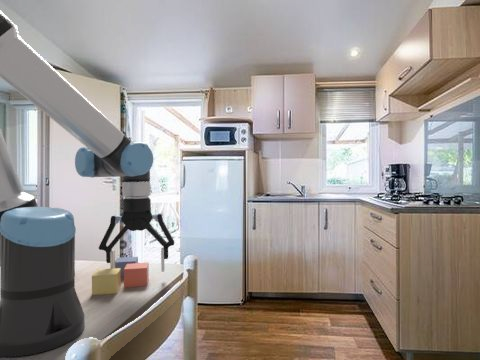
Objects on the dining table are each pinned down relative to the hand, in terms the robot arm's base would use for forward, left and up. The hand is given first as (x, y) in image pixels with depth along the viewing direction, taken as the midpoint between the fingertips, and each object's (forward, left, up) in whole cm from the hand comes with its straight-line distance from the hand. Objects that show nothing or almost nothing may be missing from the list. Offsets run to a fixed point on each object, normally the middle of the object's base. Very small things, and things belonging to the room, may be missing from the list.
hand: (138, 272), depth 90 cm
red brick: (0, 0, -3) cm, 3 cm away
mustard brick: (-5, +7, -3) cm, 9 cm away
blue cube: (+8, +4, -3) cm, 10 cm away
